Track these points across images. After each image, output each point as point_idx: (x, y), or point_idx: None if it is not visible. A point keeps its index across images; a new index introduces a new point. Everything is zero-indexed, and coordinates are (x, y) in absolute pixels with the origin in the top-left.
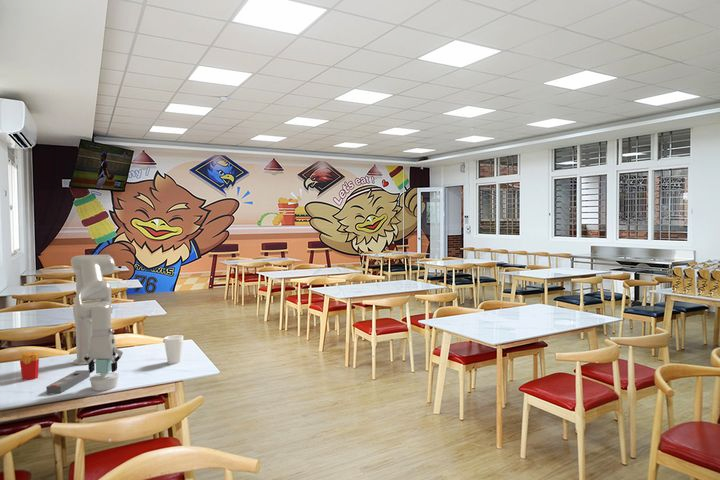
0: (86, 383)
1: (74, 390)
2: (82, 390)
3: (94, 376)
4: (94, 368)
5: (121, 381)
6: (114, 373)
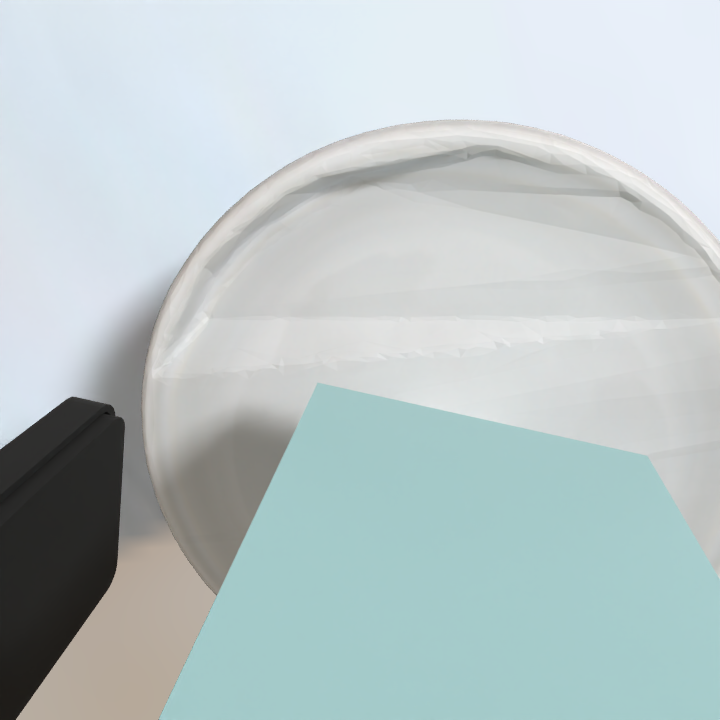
0: (5, 12)
1: (6, 371)
2: (130, 406)
3: (210, 427)
4: (94, 445)
5: (703, 50)
6: (656, 269)
